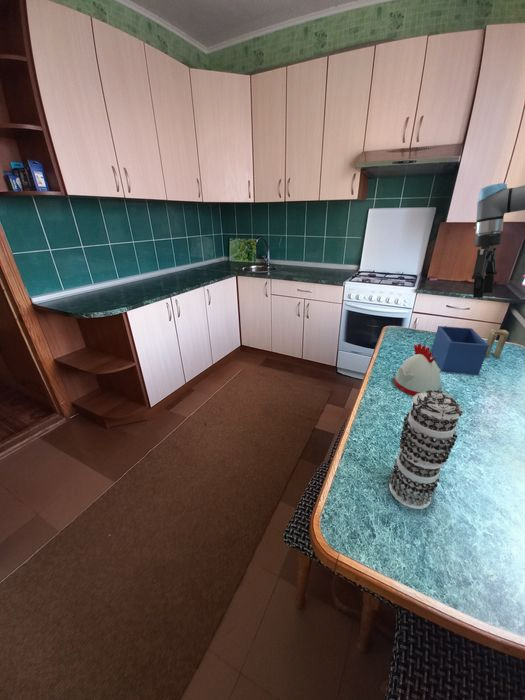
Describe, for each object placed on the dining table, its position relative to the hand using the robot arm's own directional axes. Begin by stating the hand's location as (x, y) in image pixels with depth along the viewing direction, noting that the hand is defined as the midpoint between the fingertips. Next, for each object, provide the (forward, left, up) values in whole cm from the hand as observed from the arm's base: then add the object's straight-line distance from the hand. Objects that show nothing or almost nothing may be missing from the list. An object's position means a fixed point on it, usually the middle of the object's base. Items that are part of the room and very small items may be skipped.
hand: (483, 295), depth 107 cm
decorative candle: (-47, +65, -25) cm, 84 cm away
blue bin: (-4, +9, -25) cm, 27 cm away
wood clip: (-4, -10, -25) cm, 28 cm away
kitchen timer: (-13, +34, -25) cm, 44 cm away
